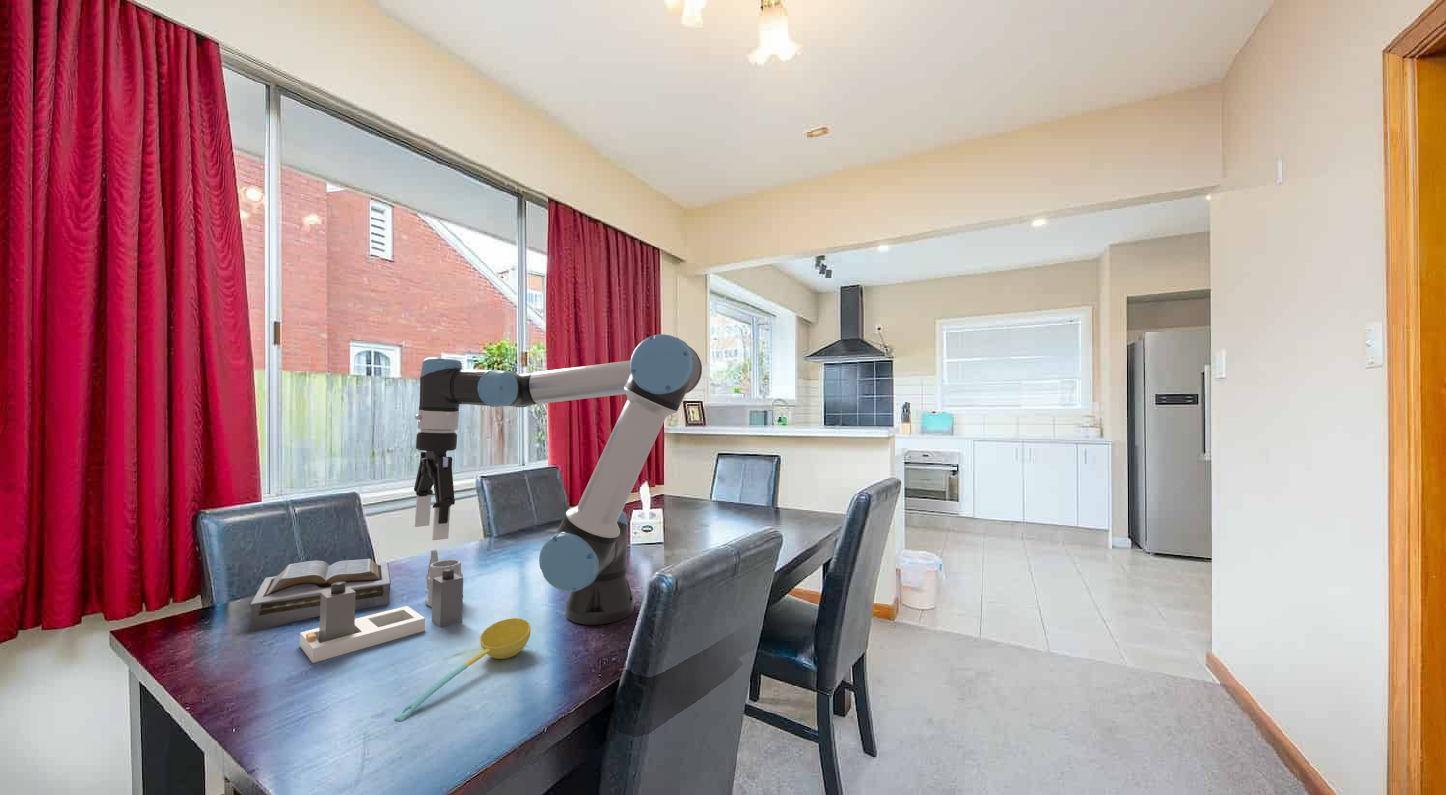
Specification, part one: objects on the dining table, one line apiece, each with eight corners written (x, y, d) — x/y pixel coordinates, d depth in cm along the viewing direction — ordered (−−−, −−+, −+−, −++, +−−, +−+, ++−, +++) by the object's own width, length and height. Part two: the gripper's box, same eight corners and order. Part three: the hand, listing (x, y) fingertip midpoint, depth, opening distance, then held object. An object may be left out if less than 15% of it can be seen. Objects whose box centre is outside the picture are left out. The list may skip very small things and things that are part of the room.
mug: (435, 615, 114) (437, 560, 114) (411, 603, 121) (412, 551, 121) (469, 604, 120) (470, 553, 120) (444, 594, 127) (445, 545, 127)
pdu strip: (424, 635, 103) (425, 614, 103) (312, 668, 89) (313, 643, 90) (406, 622, 110) (407, 602, 110) (299, 651, 96) (300, 628, 96)
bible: (272, 599, 123) (274, 557, 124) (402, 584, 134) (404, 547, 135) (226, 637, 102) (228, 588, 102) (385, 617, 113) (387, 572, 113)
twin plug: (353, 645, 96) (355, 583, 97) (324, 653, 93) (327, 589, 93) (347, 638, 99) (349, 578, 100) (318, 646, 96) (321, 583, 96)
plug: (461, 625, 108) (463, 570, 109) (439, 631, 105) (441, 574, 105) (453, 619, 111) (454, 565, 112) (431, 625, 108) (433, 570, 108)
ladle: (542, 643, 99) (539, 616, 98) (424, 758, 74) (418, 724, 73) (505, 634, 102) (502, 608, 101) (380, 743, 77) (374, 710, 76)
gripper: (402, 427, 114) (396, 523, 114) (434, 435, 96) (427, 548, 96) (439, 428, 119) (433, 519, 119) (476, 435, 101) (469, 542, 101)
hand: (430, 532), depth 107 cm, fingers open, 13 cm apart
